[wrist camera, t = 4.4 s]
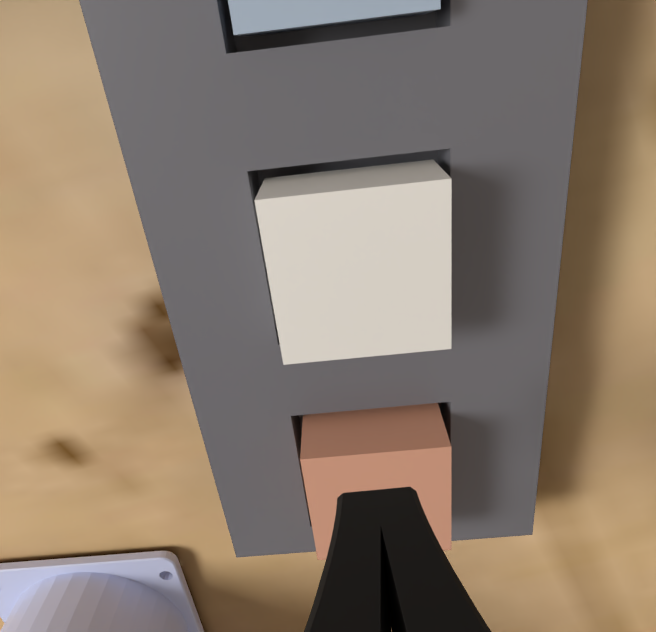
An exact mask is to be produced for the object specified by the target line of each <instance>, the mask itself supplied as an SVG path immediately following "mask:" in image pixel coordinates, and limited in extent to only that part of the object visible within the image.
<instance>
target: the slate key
mask: <svg viewBox="0 0 656 632" xmlns="http://www.w3.org/2000/svg"><path fill="white" fill-rule="evenodd" d="M228 4H229V10H230V16H231V22H232V28H233V34H234V35H238V36H246V37H249V36H257V35H265V34H273V33H281V32H289V31H297V30H305V29H313V28H321V27H329V26H337V25H345V24H353V23H361V22H369V21H377V20H385V19H393V18H401V17H409V16H417V15H424V14H427V13H430V12H433V11H436V10H439V9H441V0H228Z"/></svg>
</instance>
